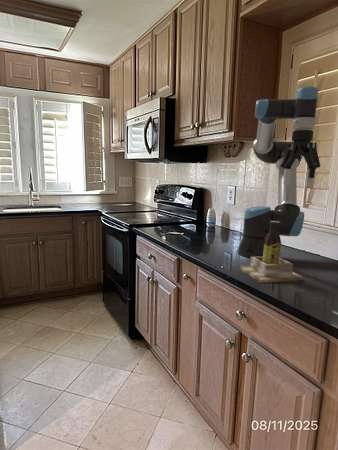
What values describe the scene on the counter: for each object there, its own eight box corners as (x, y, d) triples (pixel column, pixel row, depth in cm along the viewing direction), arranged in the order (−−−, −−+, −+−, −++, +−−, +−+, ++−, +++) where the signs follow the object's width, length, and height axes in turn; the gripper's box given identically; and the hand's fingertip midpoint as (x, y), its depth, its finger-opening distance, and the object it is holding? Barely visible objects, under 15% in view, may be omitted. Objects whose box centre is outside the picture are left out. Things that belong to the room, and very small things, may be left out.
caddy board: (239, 268, 130) (240, 255, 129) (277, 267, 134) (279, 254, 133) (260, 282, 114) (262, 267, 113) (302, 280, 119) (304, 265, 118)
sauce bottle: (271, 274, 120) (276, 223, 117) (258, 270, 125) (262, 220, 122) (281, 272, 124) (286, 222, 120) (268, 267, 129) (272, 219, 125)
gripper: (275, 132, 132) (270, 183, 136) (318, 125, 108) (310, 187, 112) (291, 134, 134) (285, 184, 138) (335, 127, 110) (328, 188, 114)
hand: (296, 185), depth 125 cm, fingers open, 13 cm apart
